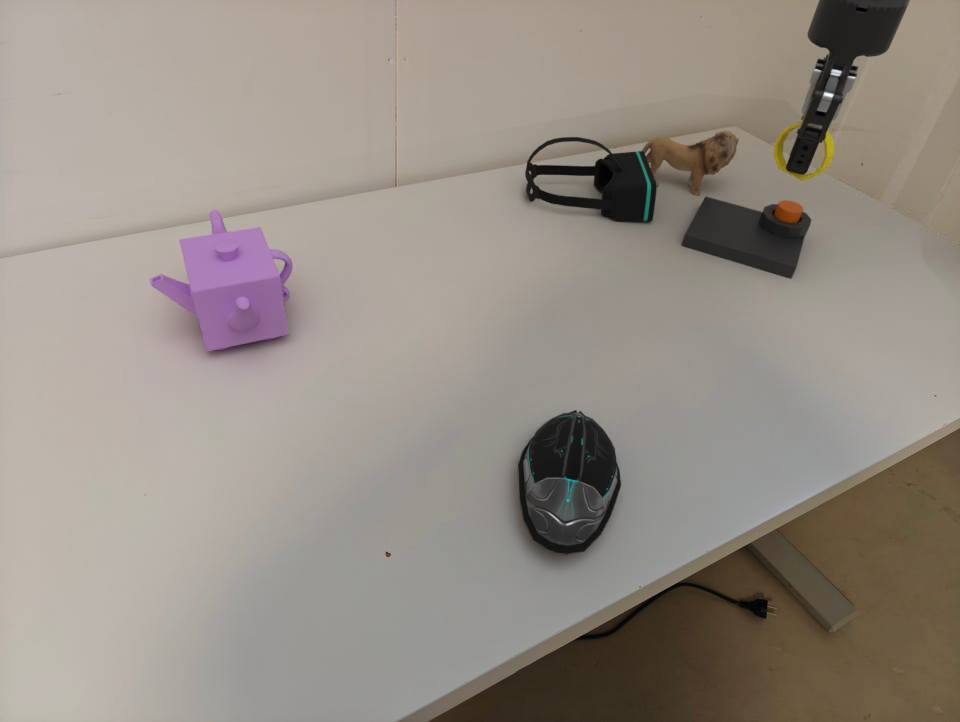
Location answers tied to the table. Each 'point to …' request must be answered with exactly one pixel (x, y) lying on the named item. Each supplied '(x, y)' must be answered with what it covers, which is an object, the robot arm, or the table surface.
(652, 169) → the lion figurine
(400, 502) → the table surface
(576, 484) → the computer mouse
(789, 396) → the table surface
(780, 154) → the watch
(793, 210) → the button
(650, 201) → the virtual reality headset
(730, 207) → the button base plate
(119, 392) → the table surface
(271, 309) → the teapot
